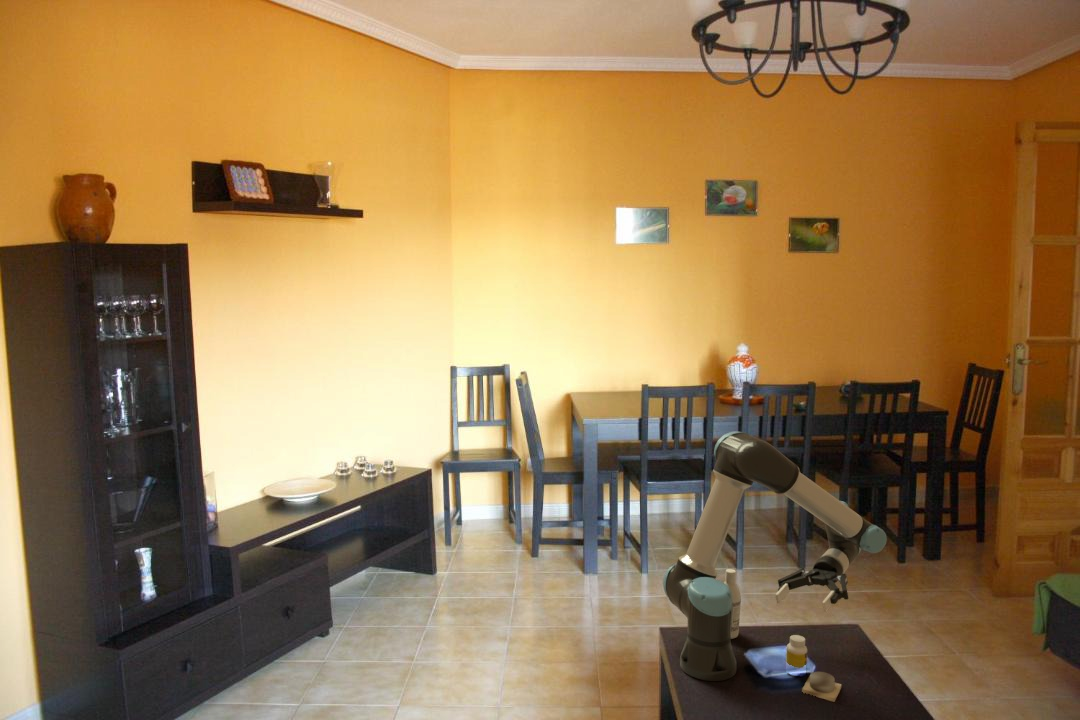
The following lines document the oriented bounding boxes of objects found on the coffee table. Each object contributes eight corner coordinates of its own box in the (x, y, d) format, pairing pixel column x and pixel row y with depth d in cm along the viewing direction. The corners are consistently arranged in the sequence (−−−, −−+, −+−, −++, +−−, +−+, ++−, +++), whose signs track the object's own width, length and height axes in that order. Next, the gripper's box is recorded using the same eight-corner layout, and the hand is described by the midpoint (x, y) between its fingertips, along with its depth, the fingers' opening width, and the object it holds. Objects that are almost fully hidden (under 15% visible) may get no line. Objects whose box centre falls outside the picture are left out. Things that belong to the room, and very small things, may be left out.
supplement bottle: (807, 678, 205) (809, 643, 204) (786, 676, 206) (788, 641, 205) (804, 668, 210) (806, 634, 209) (784, 666, 211) (785, 632, 210)
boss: (802, 692, 198) (802, 679, 198) (809, 679, 205) (810, 666, 204) (834, 702, 194) (835, 688, 193) (841, 687, 200) (841, 675, 200)
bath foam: (739, 630, 233) (743, 567, 230) (737, 641, 226) (742, 577, 223) (715, 626, 235) (719, 564, 232) (713, 637, 228) (717, 573, 225)
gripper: (876, 584, 218) (847, 623, 203) (793, 572, 235) (761, 607, 220) (871, 560, 216) (842, 597, 202) (788, 550, 234) (756, 583, 219)
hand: (800, 603), depth 211 cm, fingers open, 13 cm apart
